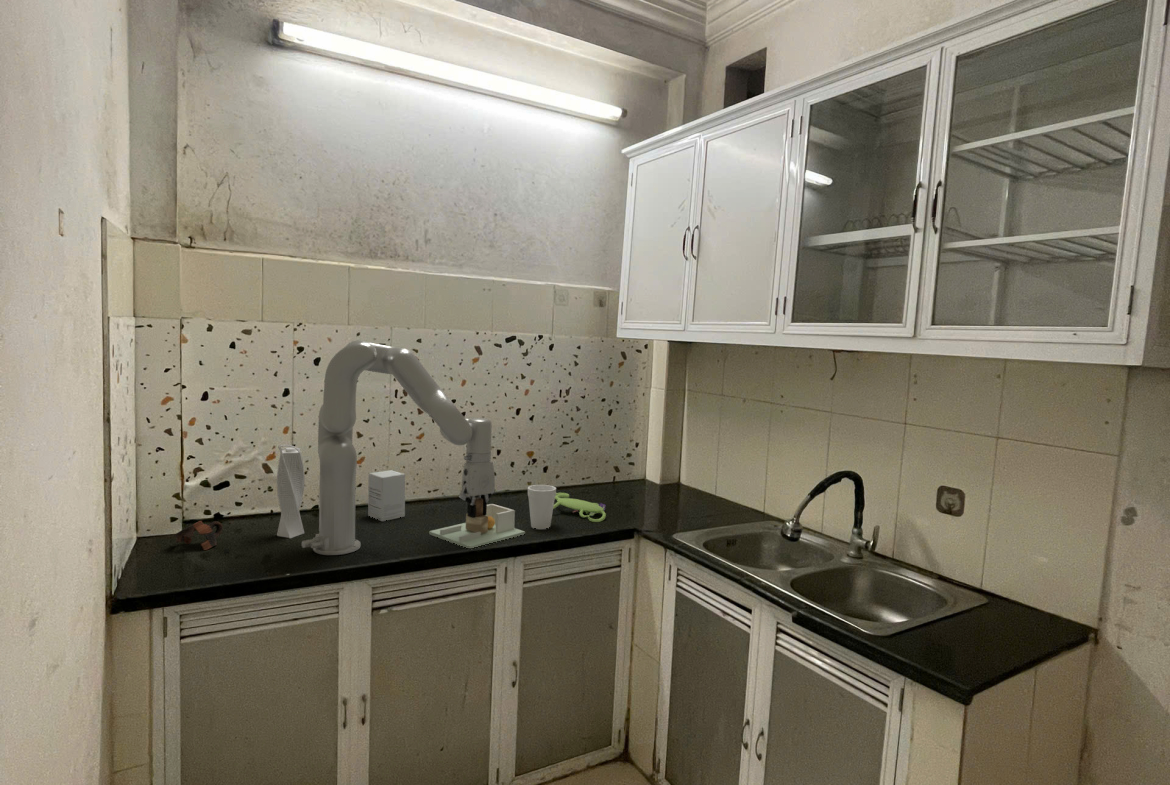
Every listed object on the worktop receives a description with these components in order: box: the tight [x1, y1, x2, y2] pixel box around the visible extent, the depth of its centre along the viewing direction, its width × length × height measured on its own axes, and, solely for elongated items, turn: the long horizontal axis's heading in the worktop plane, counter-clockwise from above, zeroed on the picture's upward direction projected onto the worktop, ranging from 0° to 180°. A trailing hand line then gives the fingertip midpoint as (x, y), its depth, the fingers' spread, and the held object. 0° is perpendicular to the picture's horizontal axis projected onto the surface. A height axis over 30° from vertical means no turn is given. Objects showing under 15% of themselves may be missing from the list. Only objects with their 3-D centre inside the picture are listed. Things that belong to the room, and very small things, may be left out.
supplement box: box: [367, 469, 406, 522], centre depth 214 cm, size 9×9×15 cm
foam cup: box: [527, 484, 557, 530], centre depth 210 cm, size 10×9×13 cm
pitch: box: [428, 503, 526, 549], centre depth 199 cm, size 22×20×7 cm
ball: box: [488, 516, 495, 529], centre depth 202 cm, size 4×4×4 cm
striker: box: [465, 497, 488, 534], centre depth 198 cm, size 4×7×10 cm, turn 49°
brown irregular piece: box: [174, 520, 223, 551], centre depth 179 cm, size 12×10×8 cm
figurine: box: [553, 492, 607, 523], centre depth 229 cm, size 18×27×6 cm
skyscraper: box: [276, 444, 306, 539], centre depth 190 cm, size 8×8×28 cm
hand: (476, 515), depth 198 cm, fingers closed on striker, 3 cm apart
